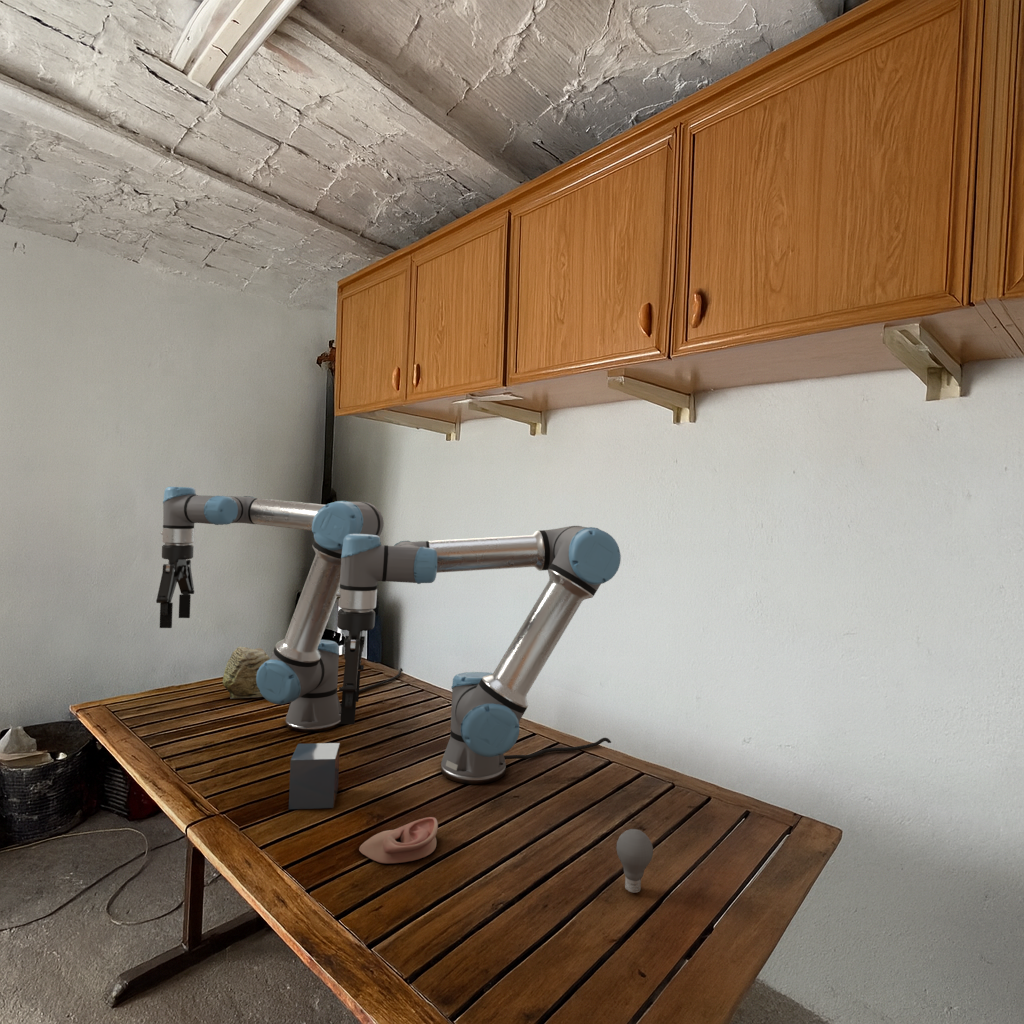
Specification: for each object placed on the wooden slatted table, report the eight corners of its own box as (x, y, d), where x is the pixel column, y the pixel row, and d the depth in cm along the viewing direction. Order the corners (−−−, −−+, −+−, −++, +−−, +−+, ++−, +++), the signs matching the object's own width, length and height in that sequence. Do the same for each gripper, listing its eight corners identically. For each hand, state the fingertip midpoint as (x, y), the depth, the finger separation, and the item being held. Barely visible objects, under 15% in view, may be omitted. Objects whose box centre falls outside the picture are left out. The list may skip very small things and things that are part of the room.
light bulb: (610, 879, 108) (613, 822, 108) (644, 879, 109) (647, 822, 109) (619, 902, 102) (622, 840, 102) (655, 901, 103) (658, 840, 103)
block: (296, 790, 136) (297, 743, 136) (338, 788, 138) (339, 742, 137) (288, 809, 128) (290, 760, 128) (333, 808, 129) (335, 759, 129)
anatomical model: (352, 836, 111) (378, 805, 123) (351, 858, 111) (377, 826, 123) (423, 847, 109) (444, 815, 120) (422, 870, 109) (443, 836, 120)
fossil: (218, 695, 195) (220, 647, 195) (278, 685, 208) (279, 640, 207) (228, 703, 189) (230, 653, 188) (289, 692, 201) (290, 645, 201)
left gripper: (179, 540, 182) (177, 613, 182) (143, 547, 157) (140, 632, 158) (207, 541, 183) (204, 614, 184) (176, 548, 159) (173, 632, 159)
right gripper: (342, 598, 142) (336, 693, 142) (332, 620, 117) (324, 734, 117) (377, 600, 143) (370, 693, 143) (373, 621, 118) (365, 734, 119)
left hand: (175, 622), depth 171 cm, fingers open, 13 cm apart
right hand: (349, 712), depth 130 cm, fingers open, 13 cm apart
